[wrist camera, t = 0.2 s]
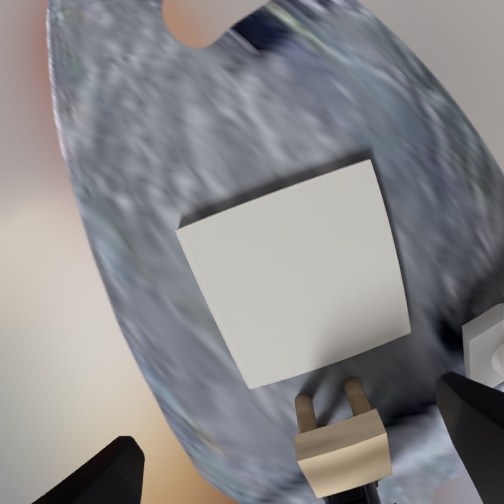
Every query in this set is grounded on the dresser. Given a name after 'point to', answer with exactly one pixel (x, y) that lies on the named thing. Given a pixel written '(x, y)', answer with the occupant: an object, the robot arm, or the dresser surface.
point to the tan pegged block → (342, 445)
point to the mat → (301, 274)
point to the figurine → (485, 347)
